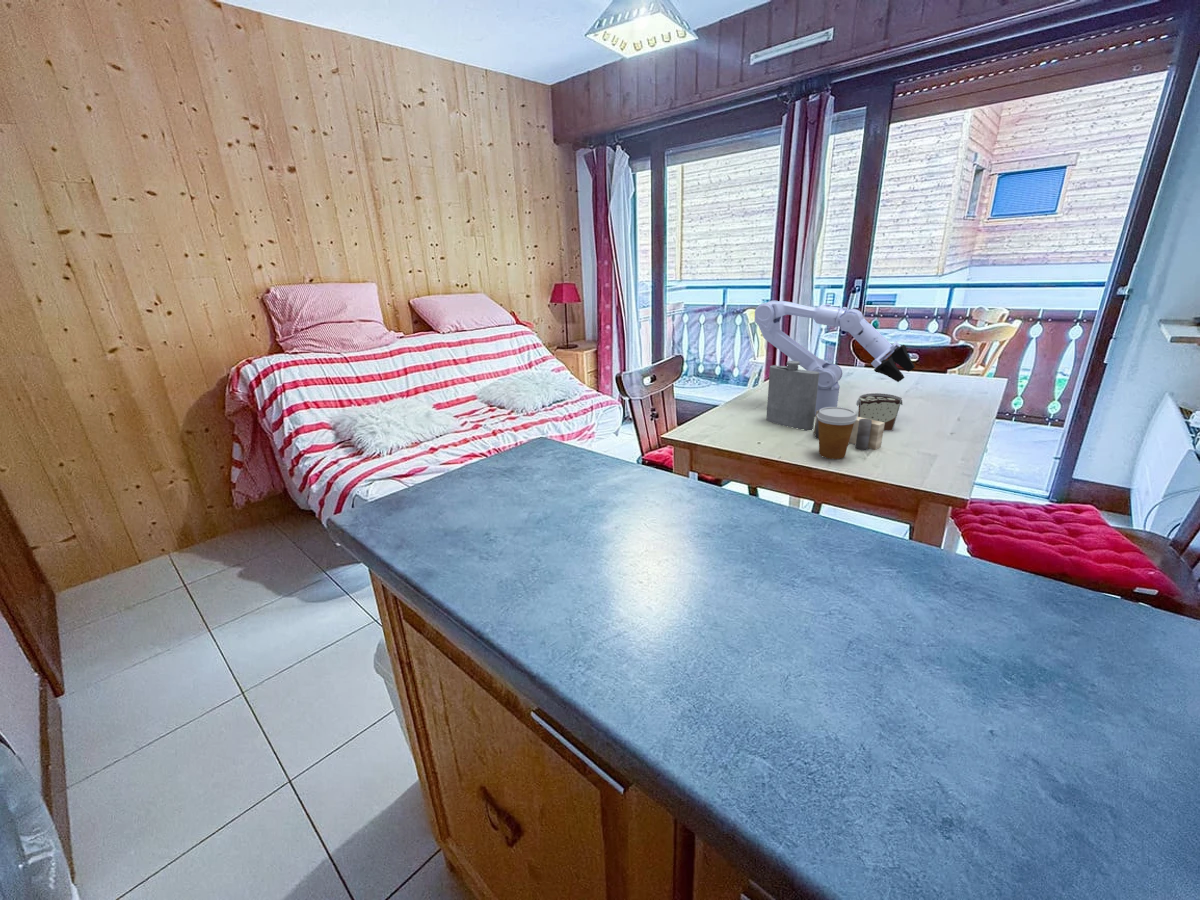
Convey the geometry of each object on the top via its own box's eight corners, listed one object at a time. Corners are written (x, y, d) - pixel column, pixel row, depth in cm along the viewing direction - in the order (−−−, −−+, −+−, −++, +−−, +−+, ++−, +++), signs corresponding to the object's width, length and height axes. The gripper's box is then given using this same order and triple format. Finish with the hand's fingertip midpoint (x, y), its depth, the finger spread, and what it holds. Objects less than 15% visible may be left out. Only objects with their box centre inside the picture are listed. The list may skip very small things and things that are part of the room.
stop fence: (808, 436, 147) (810, 410, 144) (819, 431, 150) (822, 405, 147) (869, 452, 133) (874, 424, 130) (880, 446, 136) (885, 419, 133)
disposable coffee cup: (832, 464, 128) (838, 420, 123) (804, 452, 136) (809, 410, 131) (860, 457, 131) (866, 413, 127) (831, 445, 139) (836, 404, 135)
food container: (888, 424, 152) (894, 392, 149) (898, 430, 147) (903, 398, 143) (846, 424, 154) (850, 393, 150) (853, 431, 148) (858, 399, 144)
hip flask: (815, 428, 152) (822, 363, 145) (807, 432, 150) (814, 366, 143) (770, 417, 164) (774, 357, 157) (762, 420, 162) (766, 359, 154)
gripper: (872, 341, 142) (907, 376, 140) (893, 324, 150) (927, 356, 147) (854, 357, 148) (888, 390, 146) (875, 339, 156) (908, 370, 153)
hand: (906, 374), depth 147 cm, fingers open, 7 cm apart
